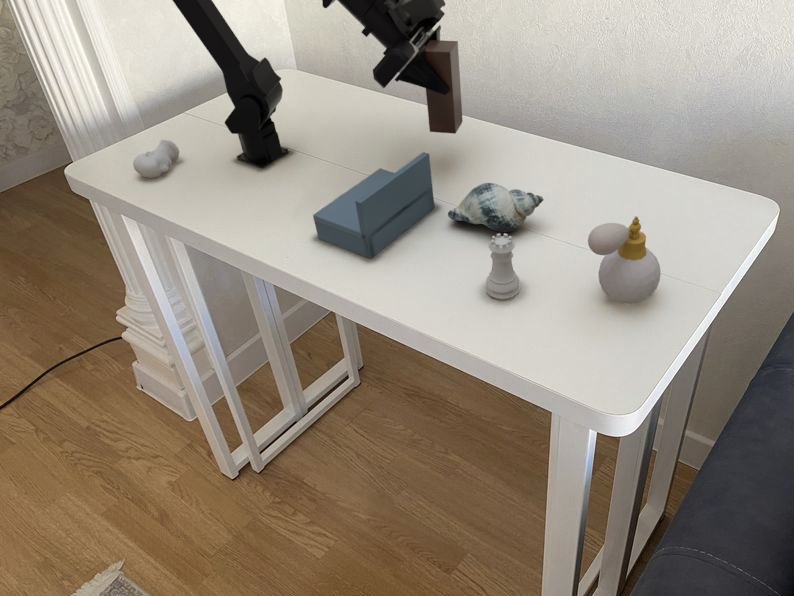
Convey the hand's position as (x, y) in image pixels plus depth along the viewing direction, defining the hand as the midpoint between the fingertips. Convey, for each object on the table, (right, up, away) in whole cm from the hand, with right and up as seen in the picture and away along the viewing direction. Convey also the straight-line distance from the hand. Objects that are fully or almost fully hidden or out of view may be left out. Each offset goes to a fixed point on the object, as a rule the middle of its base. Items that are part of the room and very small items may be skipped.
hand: (451, 86), depth 108 cm
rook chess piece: (+7, -32, -15) cm, 36 cm away
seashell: (+6, -22, -4) cm, 23 cm away
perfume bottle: (+22, -33, -18) cm, 44 cm away
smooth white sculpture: (-49, -9, +14) cm, 52 cm away
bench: (-11, -21, -2) cm, 24 cm away
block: (-1, -5, +5) cm, 7 cm away
